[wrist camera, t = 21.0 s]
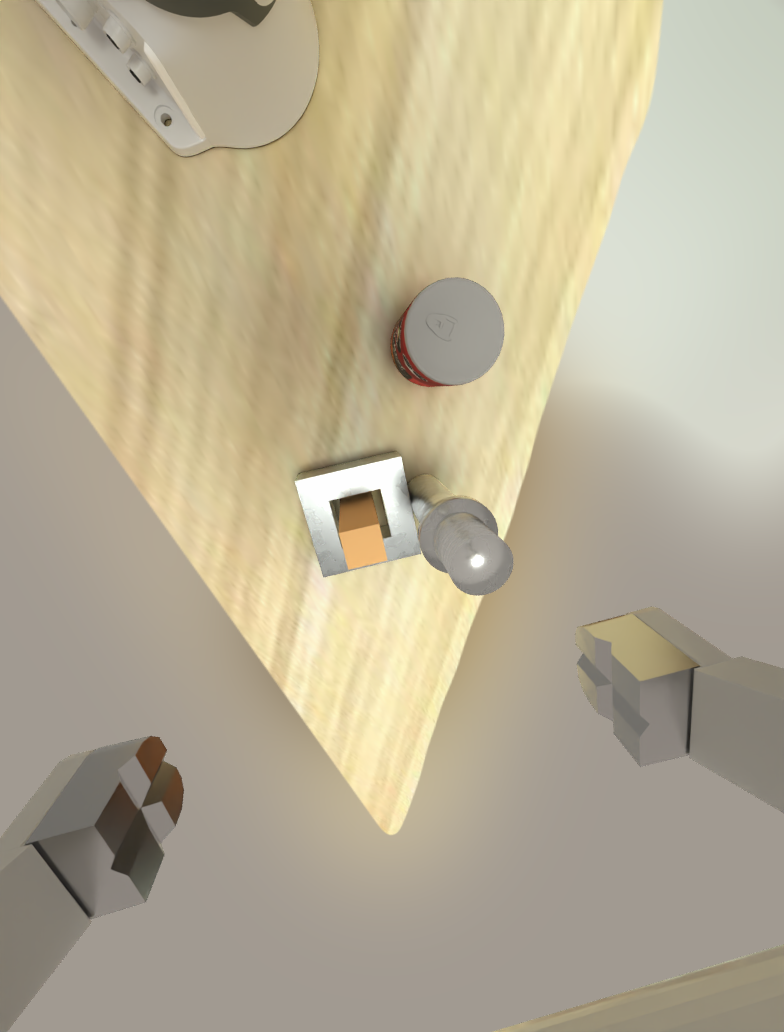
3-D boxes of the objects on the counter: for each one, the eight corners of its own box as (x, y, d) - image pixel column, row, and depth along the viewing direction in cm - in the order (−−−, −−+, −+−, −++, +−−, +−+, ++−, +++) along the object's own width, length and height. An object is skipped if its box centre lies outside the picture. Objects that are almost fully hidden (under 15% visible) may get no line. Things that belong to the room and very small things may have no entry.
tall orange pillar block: (347, 525, 45) (348, 569, 34) (340, 496, 44) (338, 533, 33) (376, 518, 46) (387, 560, 34) (370, 489, 44) (379, 523, 33)
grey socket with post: (325, 562, 46) (311, 679, 27) (299, 473, 43) (263, 538, 24) (458, 530, 47) (534, 622, 28) (443, 440, 44) (518, 477, 25)
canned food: (394, 300, 39) (412, 267, 28) (470, 313, 40) (515, 286, 30) (385, 381, 41) (398, 378, 31) (458, 391, 42) (495, 391, 32)
